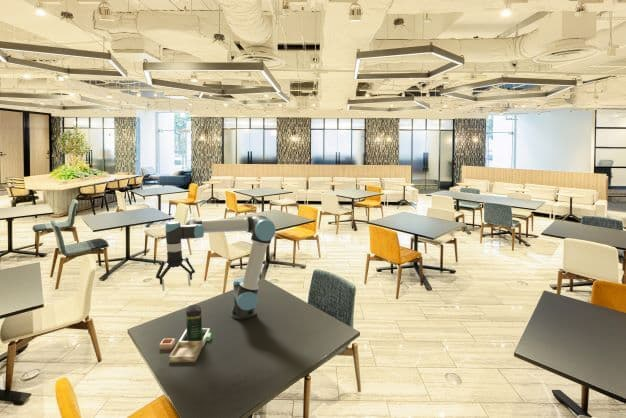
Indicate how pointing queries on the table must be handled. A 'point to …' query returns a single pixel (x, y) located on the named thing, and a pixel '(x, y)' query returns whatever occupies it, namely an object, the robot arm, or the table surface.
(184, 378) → the table surface
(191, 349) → the beige shallow box
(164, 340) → the dish
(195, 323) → the coffee jar
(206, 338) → the frame
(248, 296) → the robot arm
